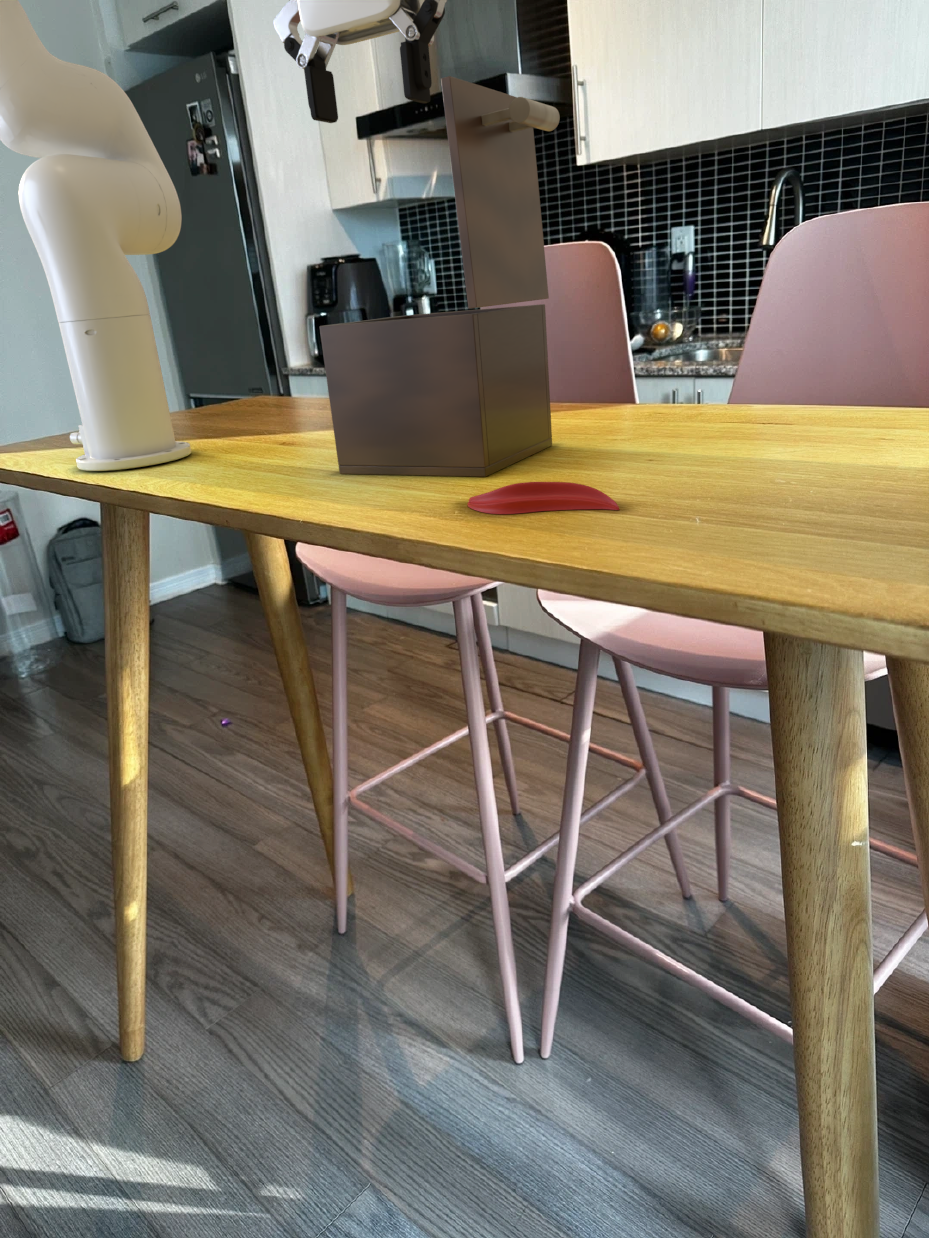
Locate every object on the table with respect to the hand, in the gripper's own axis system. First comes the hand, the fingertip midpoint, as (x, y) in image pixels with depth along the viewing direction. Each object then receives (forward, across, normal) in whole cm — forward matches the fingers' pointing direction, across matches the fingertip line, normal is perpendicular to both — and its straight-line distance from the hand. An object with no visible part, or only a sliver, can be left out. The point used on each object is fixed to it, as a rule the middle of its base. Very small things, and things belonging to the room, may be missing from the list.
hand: (370, 111), depth 76 cm
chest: (+30, -4, -1) cm, 31 cm away
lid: (+8, -11, -1) cm, 14 cm away
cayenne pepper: (+31, -21, +16) cm, 40 cm away
